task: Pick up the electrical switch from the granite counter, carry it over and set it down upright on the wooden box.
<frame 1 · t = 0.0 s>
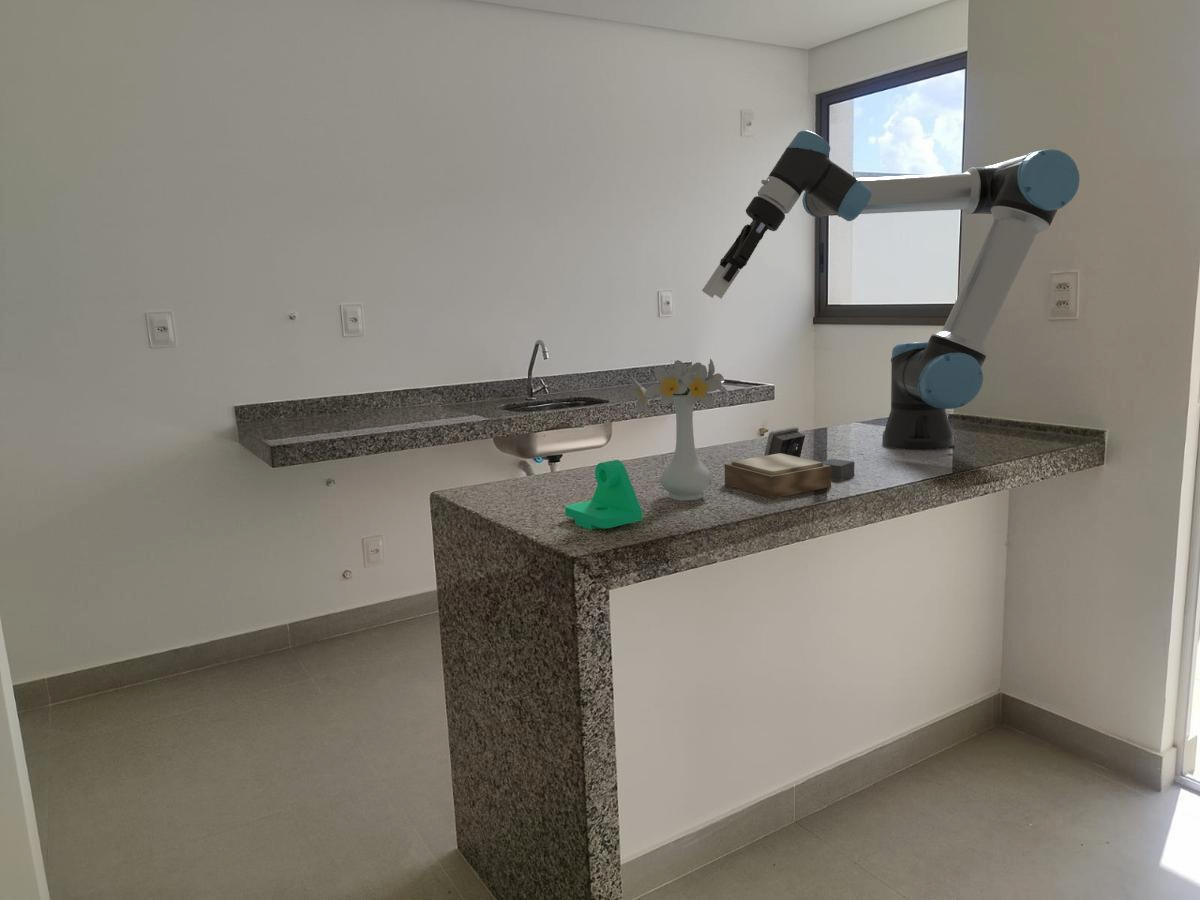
hand: (710, 294, 177), 36 cm above the countertop, fingers open, 13 cm apart
wooden box: (777, 485, 163), on the countertop
camera mount: (602, 524, 144), on the countertop
flower vase: (684, 499, 157), on the countertop
electrical switch: (784, 468, 179), on the countertop
rubber block: (836, 477, 169), on the countertop
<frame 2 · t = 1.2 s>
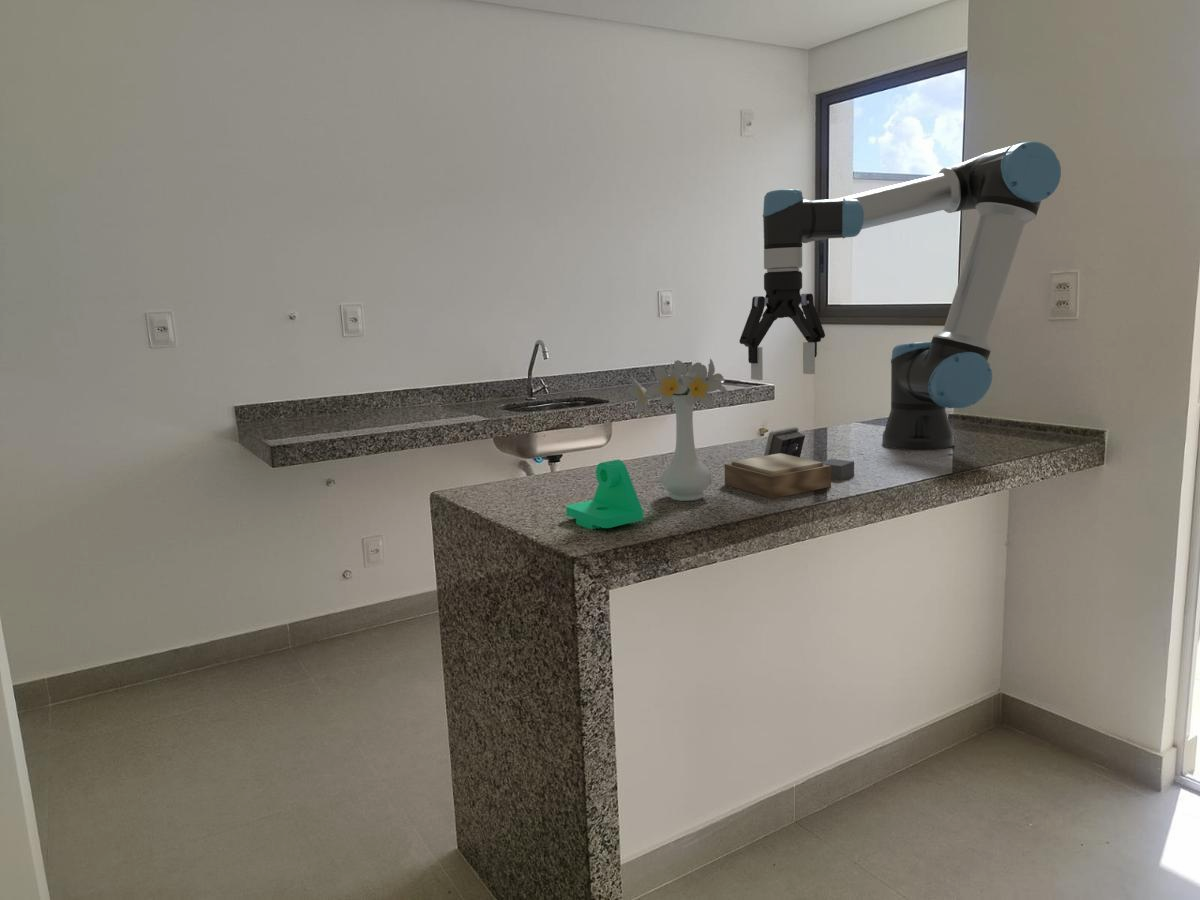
hand: (783, 376, 176), 19 cm above the countertop, fingers open, 13 cm apart
nothing on the countertop moved.
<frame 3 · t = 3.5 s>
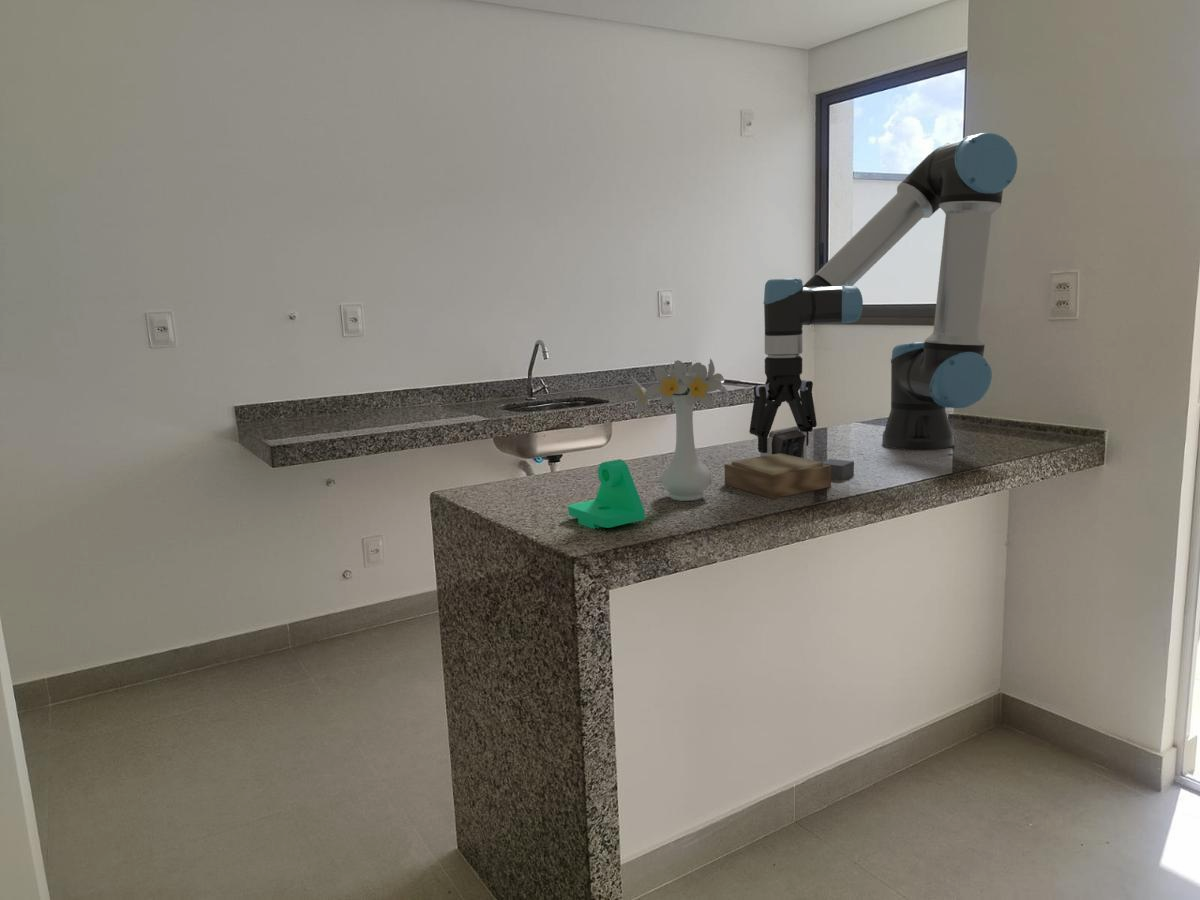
hand: (783, 464, 179), 0 cm above the countertop, fingers closed on electrical switch, 8 cm apart
electrical switch: (785, 467, 179), on the countertop, touching gripper
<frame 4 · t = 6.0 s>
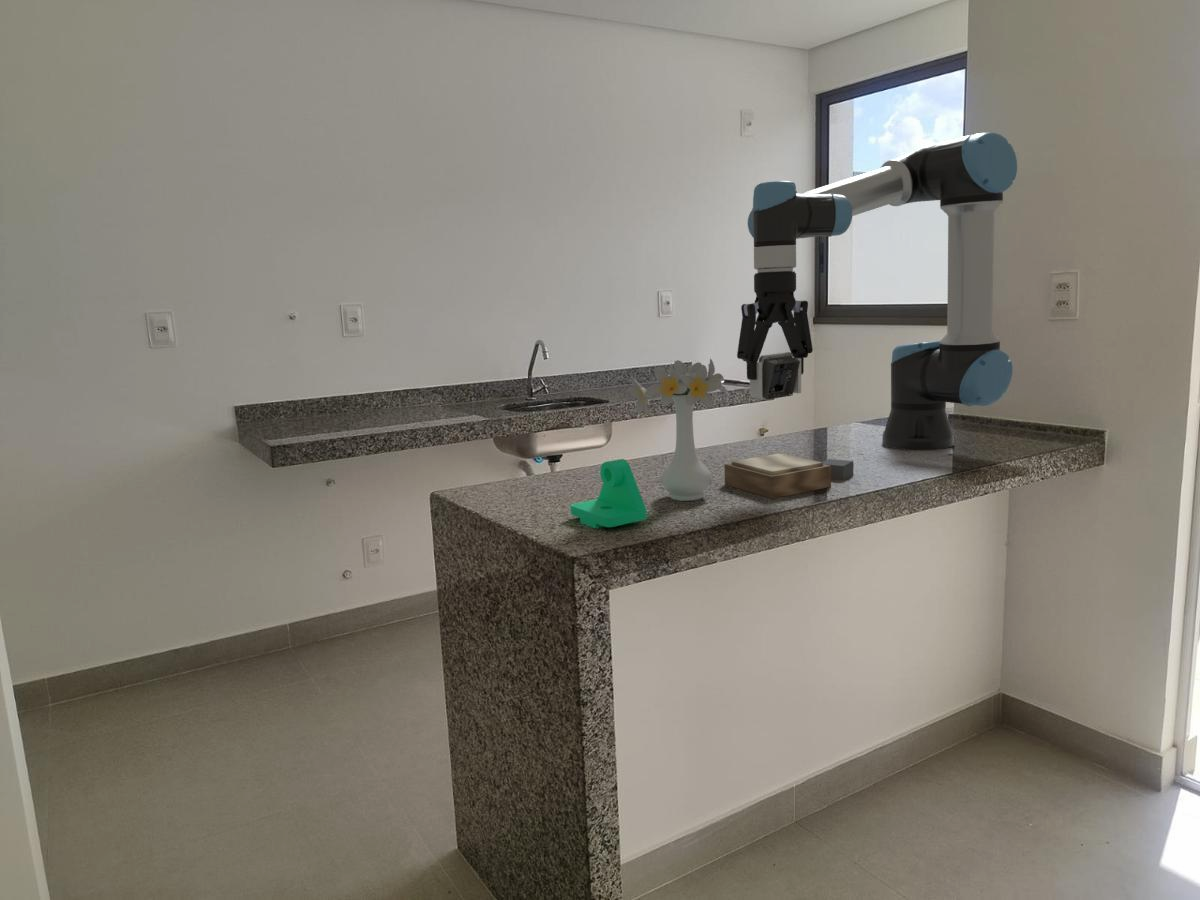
hand: (775, 394, 160), 17 cm above the countertop, fingers closed on electrical switch, 8 cm apart
electrical switch: (777, 398, 161), point 17 cm above the countertop, touching gripper
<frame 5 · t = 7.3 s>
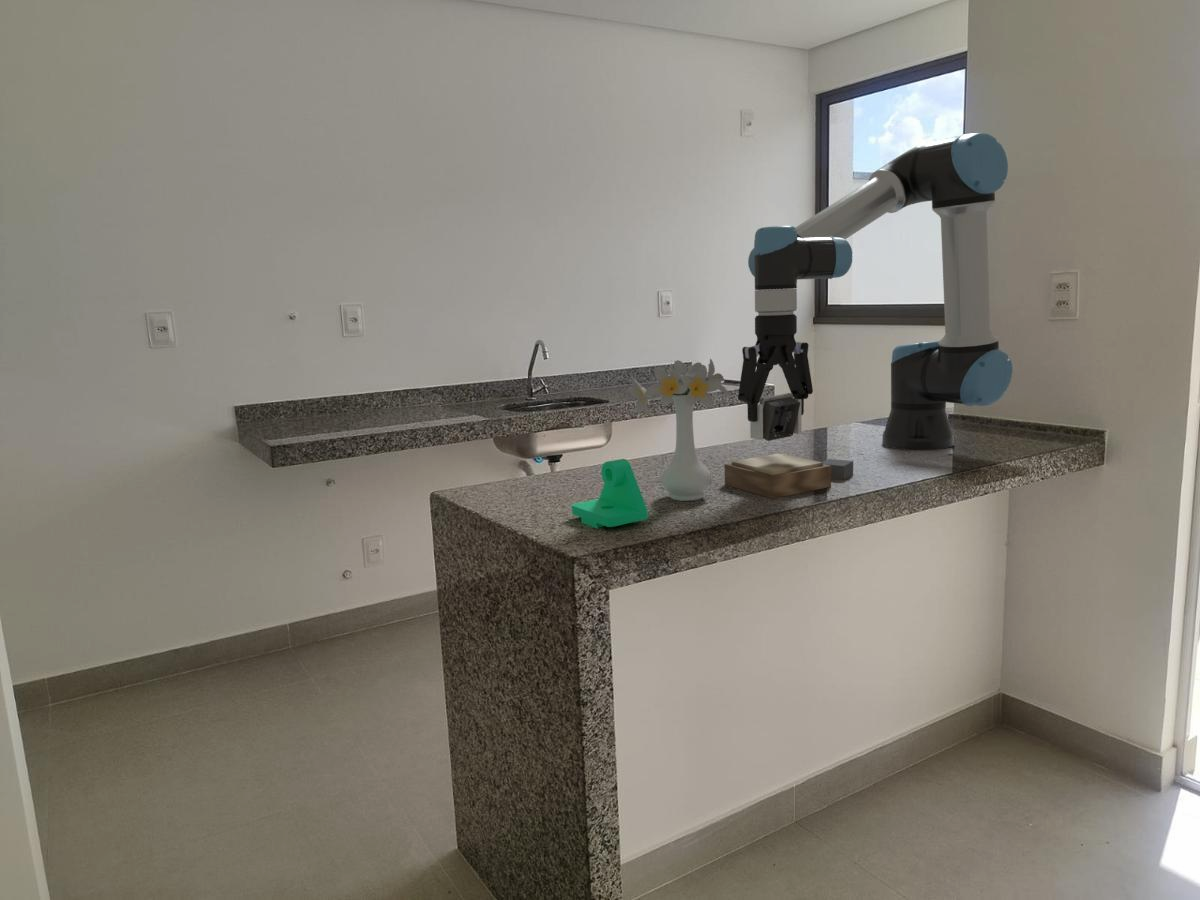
hand: (776, 435, 162), 10 cm above the countertop, fingers closed on electrical switch, 8 cm apart
electrical switch: (777, 438, 162), point 9 cm above the countertop, touching gripper
when the fingers open (6 cm above the countertop, at t = 8.4 s): electrical switch drops 1 cm, resting on wooden box.
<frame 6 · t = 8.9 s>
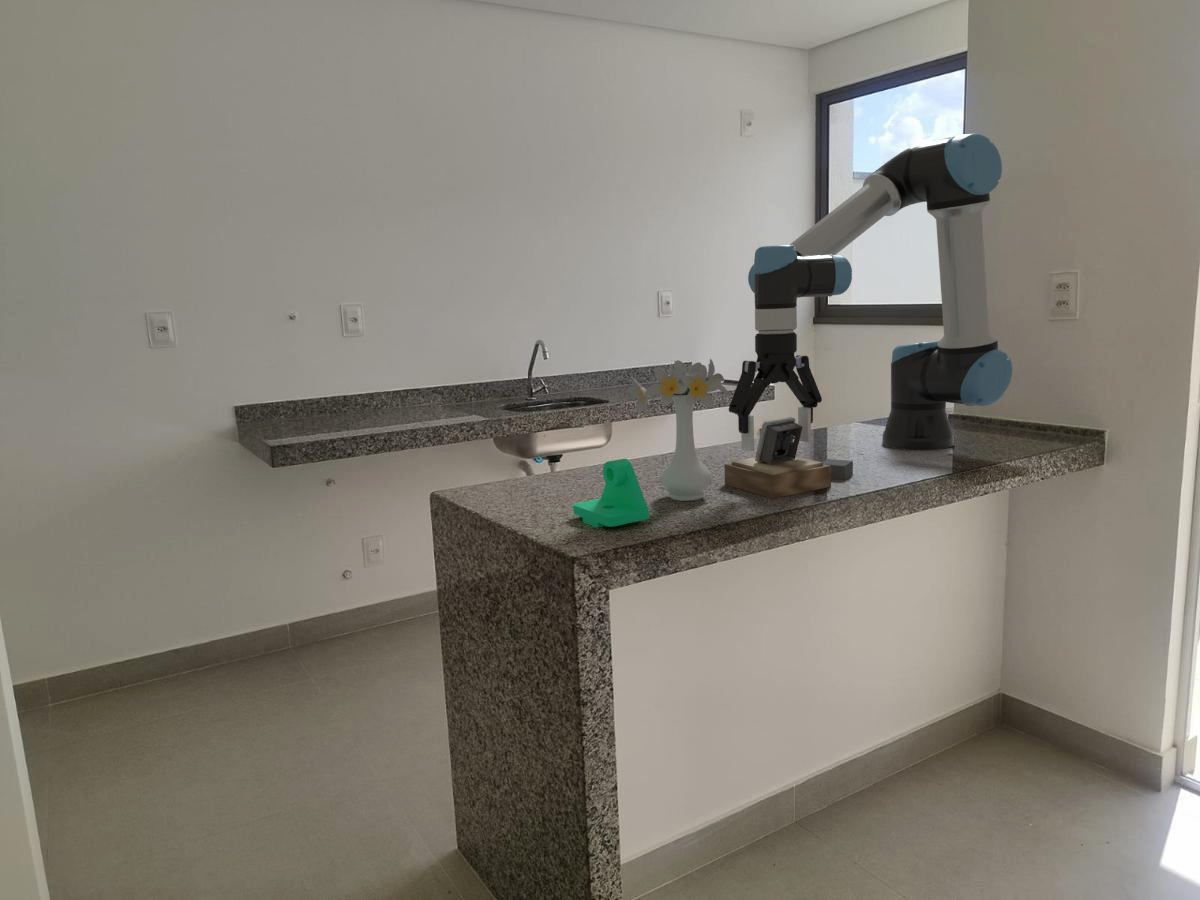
hand: (776, 445, 162), 8 cm above the countertop, fingers open, 13 cm apart
electrical switch: (779, 462, 163), point 4 cm above the countertop, touching wooden box
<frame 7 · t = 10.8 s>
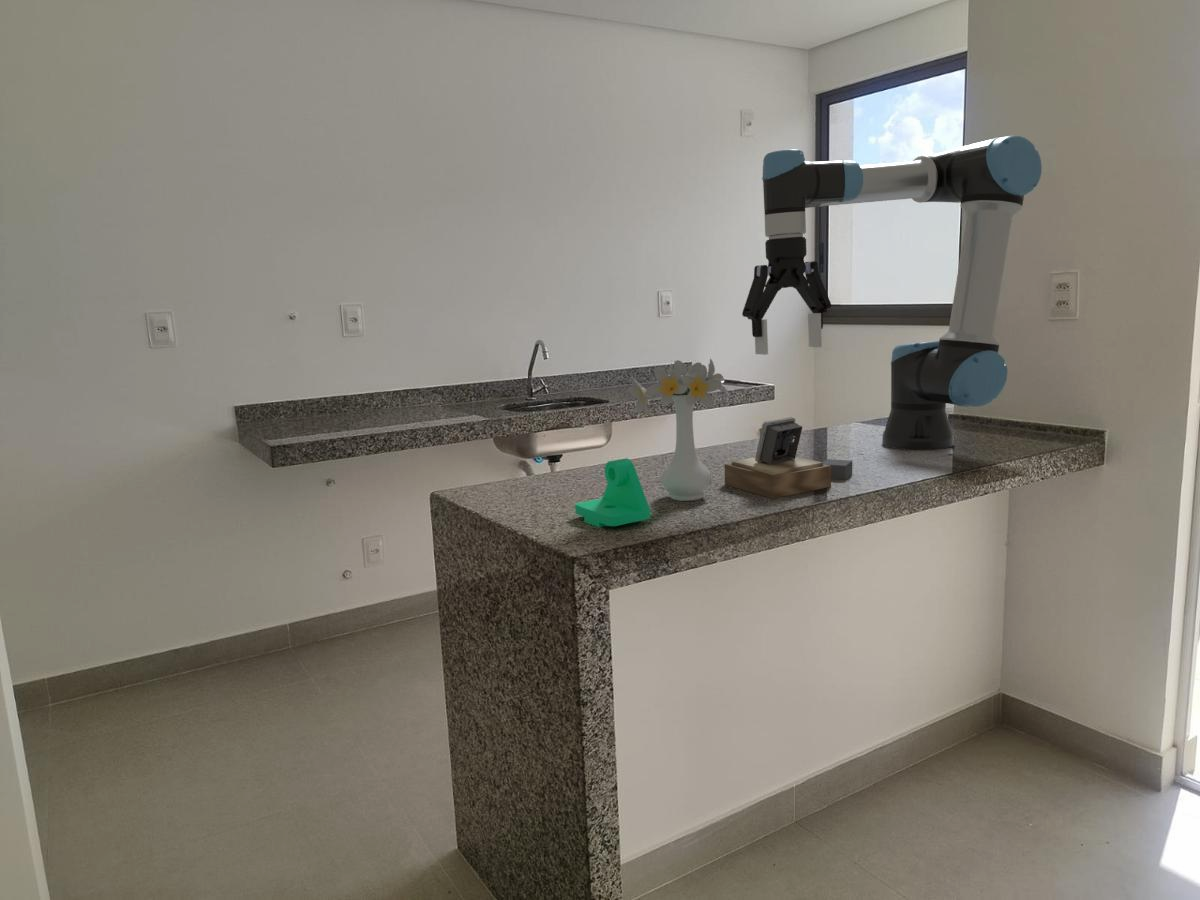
hand: (789, 350, 166), 25 cm above the countertop, fingers open, 13 cm apart
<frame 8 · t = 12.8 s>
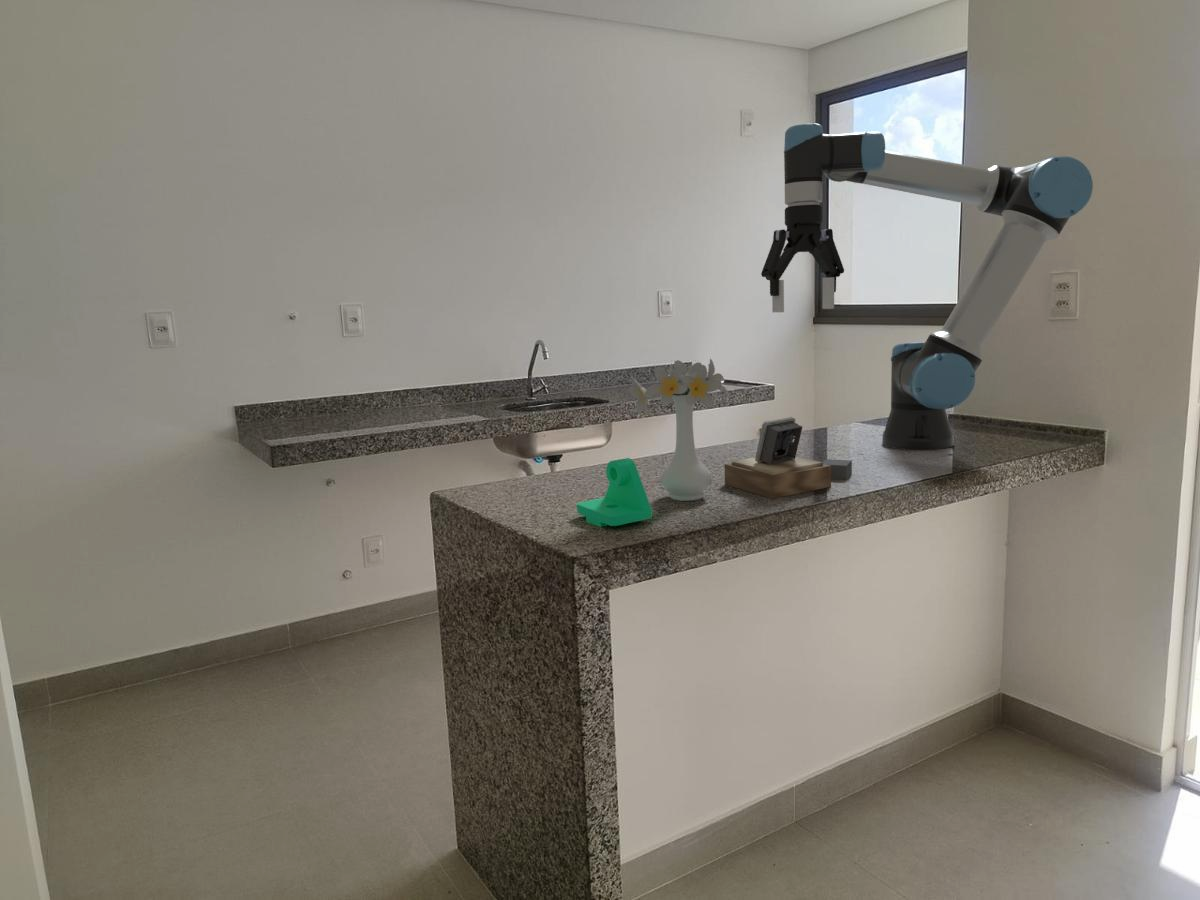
hand: (803, 310, 180), 32 cm above the countertop, fingers open, 13 cm apart
at the end: electrical switch inside the target area on the wooden box (0.7 cm from its centre), point 4.4 cm above the wooden box's base; electrical switch tilted 0°; the gripper is holding nothing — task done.
